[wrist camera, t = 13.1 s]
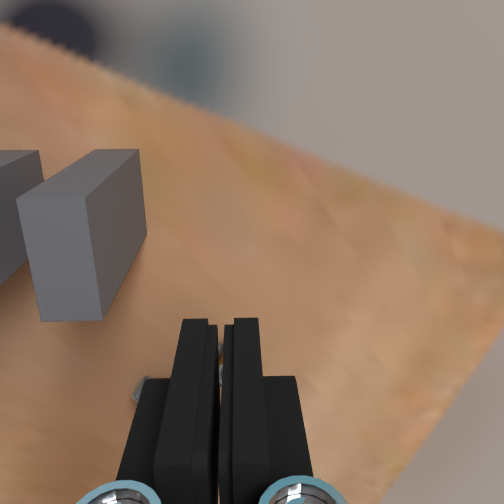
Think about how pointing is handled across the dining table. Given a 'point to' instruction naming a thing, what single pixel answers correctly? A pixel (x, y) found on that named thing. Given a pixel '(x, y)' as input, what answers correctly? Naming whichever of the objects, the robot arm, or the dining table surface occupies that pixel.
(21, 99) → the dining table surface
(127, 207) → the domino
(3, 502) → the dining table surface
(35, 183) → the domino
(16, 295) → the dining table surface
